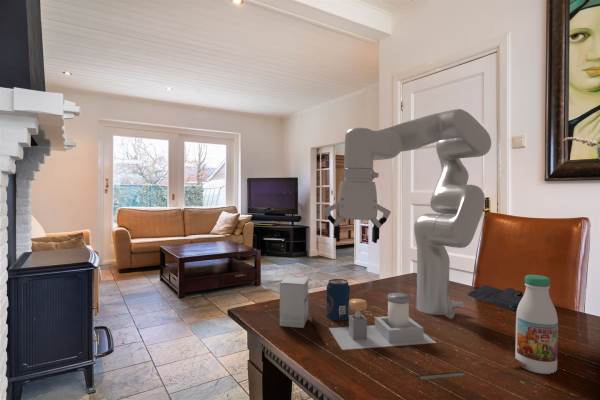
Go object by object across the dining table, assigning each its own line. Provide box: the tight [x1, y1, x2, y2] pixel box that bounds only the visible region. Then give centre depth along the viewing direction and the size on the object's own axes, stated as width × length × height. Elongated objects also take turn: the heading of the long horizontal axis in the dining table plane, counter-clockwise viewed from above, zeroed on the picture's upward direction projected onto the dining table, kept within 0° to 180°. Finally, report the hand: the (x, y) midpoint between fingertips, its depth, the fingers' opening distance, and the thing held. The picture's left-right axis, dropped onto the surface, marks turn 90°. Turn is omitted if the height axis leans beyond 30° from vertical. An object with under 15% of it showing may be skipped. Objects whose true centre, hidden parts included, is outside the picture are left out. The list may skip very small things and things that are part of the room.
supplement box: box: [279, 276, 309, 329], centre depth 103 cm, size 7×7×13 cm
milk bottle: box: [514, 274, 559, 375], centre depth 77 cm, size 8×8×20 cm
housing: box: [328, 314, 437, 351], centre depth 91 cm, size 24×13×6 cm, turn 99°
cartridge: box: [387, 292, 410, 328], centre depth 91 cm, size 5×5×10 cm
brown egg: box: [349, 298, 368, 319], centre depth 89 cm, size 4×4×6 cm
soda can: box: [325, 278, 351, 322], centre depth 104 cm, size 7×7×12 cm
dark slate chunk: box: [467, 284, 524, 313], centre depth 124 cm, size 15×22×5 cm
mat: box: [416, 371, 465, 380], centre depth 78 cm, size 10×10×1 cm
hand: (356, 241), depth 92 cm, fingers open, 9 cm apart
